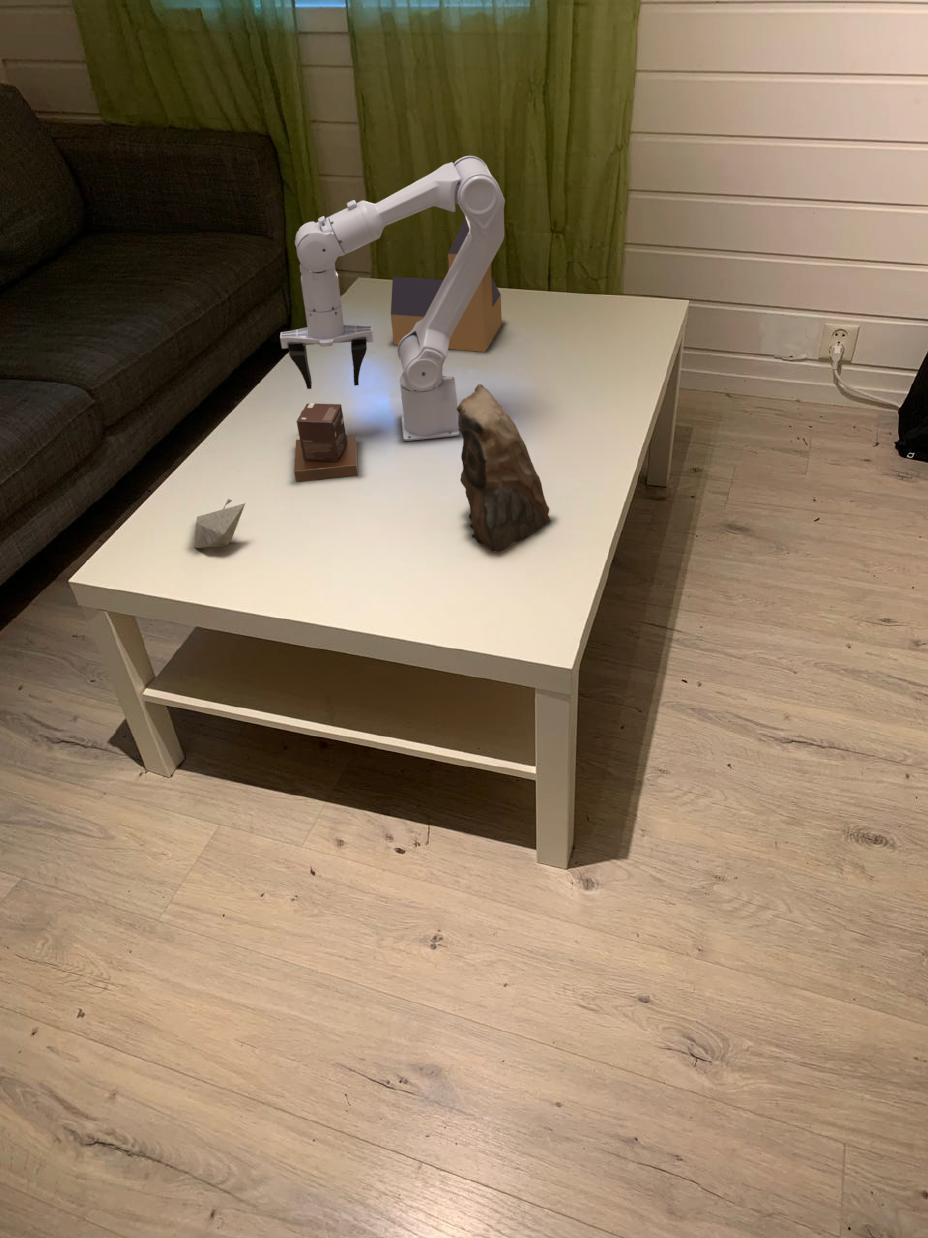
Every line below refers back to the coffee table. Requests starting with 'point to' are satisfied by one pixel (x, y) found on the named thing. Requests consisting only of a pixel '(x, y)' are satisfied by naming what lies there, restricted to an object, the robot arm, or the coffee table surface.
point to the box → (322, 432)
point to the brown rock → (498, 474)
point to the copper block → (327, 464)
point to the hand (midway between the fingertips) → (332, 384)
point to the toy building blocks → (476, 320)
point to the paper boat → (217, 527)
